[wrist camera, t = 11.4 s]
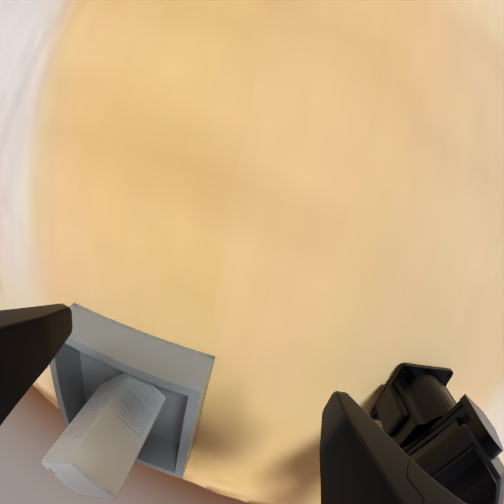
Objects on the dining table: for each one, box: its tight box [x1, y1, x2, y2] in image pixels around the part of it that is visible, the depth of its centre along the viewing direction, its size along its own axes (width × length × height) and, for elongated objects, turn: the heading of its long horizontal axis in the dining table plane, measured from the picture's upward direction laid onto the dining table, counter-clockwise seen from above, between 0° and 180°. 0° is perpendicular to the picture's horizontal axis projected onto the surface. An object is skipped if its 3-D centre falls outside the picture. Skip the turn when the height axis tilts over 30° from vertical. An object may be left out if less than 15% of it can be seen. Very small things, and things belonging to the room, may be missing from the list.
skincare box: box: [41, 373, 166, 499], centre depth 17 cm, size 6×4×12 cm
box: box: [50, 303, 215, 478], centre depth 21 cm, size 14×14×4 cm
